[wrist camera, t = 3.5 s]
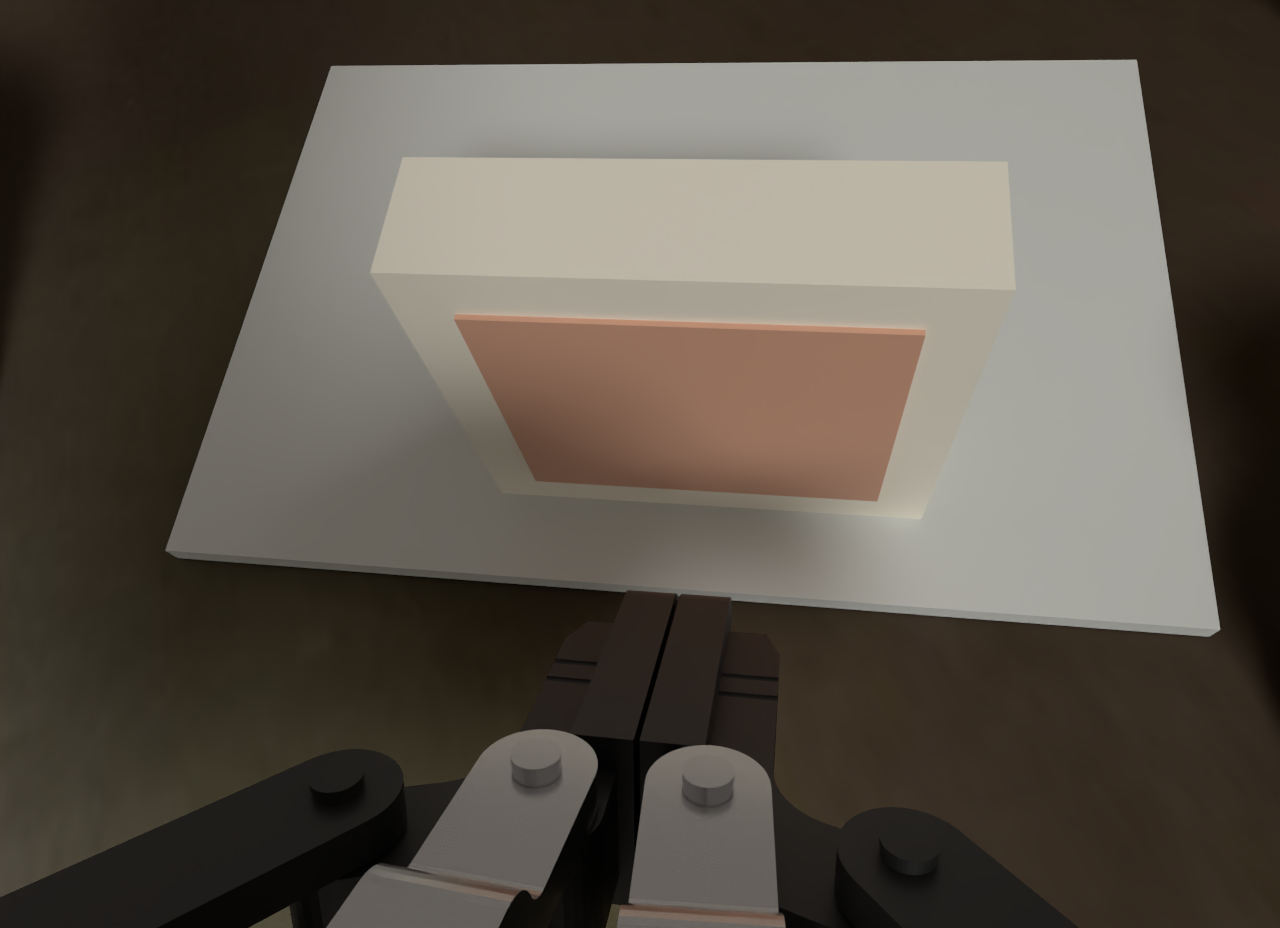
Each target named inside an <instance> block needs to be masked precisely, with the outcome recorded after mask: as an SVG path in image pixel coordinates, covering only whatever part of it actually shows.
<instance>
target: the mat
mask: <svg viewBox="0 0 1280 928" xmlns="http://www.w3.org/2000/svg"><path fill="white" fill-rule="evenodd" d="M403 157H458V158H592V159H725V160H859V161H993V162H1008V174H1009V190H1010V205H1011V221H1012V237H1013V252H1014V268H1015V284H1016V291H1015V293H1014V296H1013V298H1012V301H1011V303H1010V305H1009V308H1008V310H1007V313H1006V315H1005V318H1004V320H1003V322H1002V325H1001V327H1000V330H999V332H998V335H997V337H996V339H995V342H994V344H993V347H992V349H991V351H990V354H989V356H988V359H987V361H986V364H985V366H984V368H983V371H982V373H981V376H980V378H979V380H978V383H977V385H976V388H975V390H974V393H973V395H972V397H971V400H970V402H969V405H968V407H967V410H966V412H965V414H964V417H963V419H962V422H961V424H960V426H959V429H958V431H957V434H956V436H955V439H954V441H953V443H952V446H951V448H950V451H949V453H948V456H947V458H946V460H945V463H944V465H943V468H942V470H941V472H940V475H939V477H938V480H937V482H936V485H935V487H934V489H933V492H932V494H931V497H930V499H929V501H928V504H927V506H926V509H925V511H924V514H923V516H922V518H921V519H914V518H897V517H881V516H865V515H849V514H833V513H816V512H800V511H784V510H768V509H752V508H735V507H719V506H703V505H687V504H671V503H654V502H638V501H622V500H606V499H590V498H573V497H557V496H541V495H525V494H509V493H502V492H501V490H500V489H499V487H498V485H497V484H496V482H495V480H494V479H493V477H492V475H491V474H490V472H489V470H488V469H487V467H486V465H485V464H484V462H483V460H482V459H481V457H480V455H479V454H478V452H477V450H476V449H475V447H474V445H473V444H472V442H471V440H470V439H469V437H468V435H467V434H466V432H465V430H464V429H463V427H462V425H461V424H460V422H459V420H458V419H457V417H456V415H455V414H454V412H453V410H452V409H451V407H450V405H449V404H448V402H447V400H446V399H445V397H444V395H443V394H442V392H441V390H440V389H439V387H438V385H437V384H436V382H435V380H434V379H433V377H432V375H431V374H430V372H429V370H428V369H427V367H426V365H425V364H424V362H423V360H422V359H421V357H420V355H419V354H418V352H417V350H416V349H415V347H414V345H413V344H412V342H411V340H410V339H409V337H408V335H407V334H406V332H405V330H404V329H403V327H402V325H401V324H400V322H399V320H398V319H397V317H396V315H395V314H394V312H393V310H392V309H391V307H390V305H389V304H388V302H387V300H386V299H385V297H384V295H383V294H382V292H381V290H380V289H379V287H378V285H377V284H376V282H375V280H374V279H373V277H372V275H371V274H370V271H371V267H372V264H373V260H374V257H375V253H376V249H377V246H378V242H379V239H380V235H381V232H382V228H383V225H384V221H385V218H386V214H387V211H388V207H389V204H390V200H391V197H392V193H393V190H394V186H395V183H396V179H397V176H398V172H399V168H400V165H401V161H402V158H403ZM165 551H167V552H169V553H170V554H172V555H173V556H175V557H177V558H183V559H197V560H210V561H223V562H236V563H249V564H262V565H275V566H288V567H301V568H315V569H328V570H341V571H354V572H367V573H380V574H393V575H406V576H419V577H433V578H446V579H459V580H472V581H485V582H498V583H511V584H524V585H538V586H551V587H564V588H577V589H590V590H603V591H616V592H626V591H627V590H635V591H648V592H662V593H676V594H678V596H680V595H681V594H692V595H706V596H719V597H731V600H734V601H747V602H760V603H774V604H787V605H800V606H813V607H826V608H839V609H852V610H865V611H878V612H892V613H905V614H918V615H931V616H944V617H957V618H970V619H983V620H996V621H1010V622H1023V623H1036V624H1049V625H1062V626H1075V627H1088V628H1101V629H1114V630H1128V631H1141V632H1154V633H1167V634H1180V635H1193V636H1206V637H1209V636H1211V635H1213V634H1214V633H1216V632H1217V631H1219V630H1220V625H1219V618H1218V611H1217V604H1216V597H1215V590H1214V584H1213V577H1212V570H1211V563H1210V556H1209V550H1208V543H1207V536H1206V529H1205V522H1204V515H1203V509H1202V502H1201V495H1200V488H1199V481H1198V475H1197V468H1196V461H1195V454H1194V447H1193V440H1192V434H1191V427H1190V420H1189V413H1188V406H1187V400H1186V393H1185V386H1184V379H1183V372H1182V365H1181V359H1180V352H1179V345H1178V338H1177V331H1176V325H1175V318H1174V311H1173V304H1172V297H1171V290H1170V284H1169V277H1168V270H1167V263H1166V256H1165V250H1164V243H1163V236H1162V229H1161V222H1160V215H1159V209H1158V202H1157V195H1156V188H1155V181H1154V175H1153V168H1152V161H1151V154H1150V147H1149V140H1148V134H1147V127H1146V120H1145V113H1144V106H1143V99H1142V93H1141V86H1140V79H1139V72H1138V65H1137V60H1058V61H927V62H795V63H663V64H531V65H399V66H331V69H330V71H329V74H328V77H327V80H326V83H325V86H324V89H323V92H322V95H321V98H320V101H319V104H318V106H317V109H316V112H315V115H314V118H313V121H312V124H311V127H310V130H309V133H308V136H307V139H306V141H305V144H304V147H303V150H302V153H301V156H300V159H299V162H298V165H297V168H296V171H295V174H294V176H293V179H292V182H291V185H290V188H289V191H288V194H287V197H286V200H285V203H284V206H283V209H282V211H281V214H280V217H279V220H278V223H277V226H276V229H275V232H274V235H273V238H272V241H271V244H270V246H269V249H268V252H267V255H266V258H265V261H264V264H263V267H262V270H261V273H260V276H259V279H258V281H257V284H256V287H255V290H254V293H253V296H252V299H251V302H250V305H249V308H248V311H247V314H246V316H245V319H244V322H243V325H242V328H241V331H240V334H239V337H238V340H237V343H236V346H235V349H234V351H233V354H232V357H231V360H230V363H229V366H228V369H227V372H226V375H225V378H224V381H223V384H222V386H221V389H220V392H219V395H218V398H217V401H216V404H215V407H214V410H213V413H212V416H211V419H210V421H209V424H208V427H207V430H206V433H205V436H204V439H203V442H202V445H201V448H200V451H199V454H198V456H197V459H196V462H195V465H194V468H193V471H192V474H191V477H190V480H189V483H188V486H187V489H186V491H185V494H184V497H183V500H182V503H181V506H180V509H179V512H178V515H177V518H176V521H175V524H174V526H173V529H172V532H171V535H170V538H169V541H168V544H167V547H166V550H165Z"/></svg>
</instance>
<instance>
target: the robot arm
mask: <svg viewBox="0 0 1280 928" xmlns="http://www.w3.org/2000/svg"><path fill="white" fill-rule="evenodd" d="M731 619H732V600H731V597H719V596H706V595H692V594H681V595H680V597H679V599H678V594H676V593H662V592H648V591H635V590H627V591H626V593H625V595H624V598H623V600H622V603H621V606H620V608H619V611H618V613H617V616H616V618H615V621H614V623H611V622H598V621H587V622H586V623H585V624H583V625H582V626H581V627H579V628H578V629H577V630H575V631H574V632H573V633H571V634H570V635H569V636H567V637H566V638H565V640H564V642H563V644H562V646H561V648H560V650H559V652H558V654H557V657H556V659H555V663H553V665H552V667H551V669H550V671H549V673H548V675H547V680H545V682H544V684H543V686H542V688H541V690H540V692H539V694H538V696H537V698H536V700H535V702H534V704H533V707H532V709H531V711H530V713H529V715H528V717H527V719H526V721H525V723H524V725H523V727H522V730H521V732H518V733H515V734H512V735H509V736H506V737H504V738H502V739H500V740H498V741H497V742H495V743H493V744H492V745H491V746H489V747H488V748H487V749H486V750H485V751H484V752H483V753H482V755H481V756H480V757H479V759H478V760H477V762H476V763H475V765H474V766H473V768H472V769H471V771H470V772H469V774H468V776H467V777H466V778H463V779H460V780H455V781H449V782H443V783H434V784H426V785H418V786H409V787H404V782H403V773H402V771H401V768H400V766H399V765H398V764H397V763H396V761H394V760H393V759H392V758H390V757H389V756H387V755H384V754H382V753H379V752H376V751H371V750H363V749H351V750H341V751H336V752H331V753H327V754H324V755H321V756H318V757H315V758H313V759H310V760H308V761H306V762H304V763H301V764H299V765H297V766H295V767H292V768H290V769H288V770H286V771H283V772H281V773H279V774H277V775H274V776H272V777H270V778H268V779H265V780H263V781H261V782H259V783H256V784H254V785H252V786H250V787H247V788H245V789H243V790H241V791H238V792H236V793H234V794H232V795H229V796H227V797H225V798H223V799H220V800H218V801H216V802H214V803H211V804H209V805H207V806H205V807H202V808H200V809H198V810H196V811H193V812H191V813H189V814H187V815H184V816H182V817H180V818H178V819H176V820H173V821H171V822H169V823H167V824H164V825H162V826H160V827H158V828H155V829H153V830H151V831H149V832H146V833H144V834H142V835H140V836H137V837H135V838H133V839H131V840H128V841H126V842H124V843H122V844H119V845H117V846H115V847H113V848H110V849H108V850H106V851H104V852H101V853H99V854H97V855H95V856H92V857H90V858H88V859H86V860H83V861H81V862H79V863H77V864H74V865H72V866H70V867H68V868H65V869H63V870H61V871H59V872H56V873H54V874H52V875H50V876H47V877H45V878H43V879H41V880H38V881H36V882H34V883H32V884H29V885H27V886H25V887H23V888H20V889H18V890H16V891H14V892H12V893H9V894H7V895H5V896H3V897H0V928H249V927H250V926H252V925H254V924H256V923H258V922H260V921H261V920H263V919H265V918H267V917H269V916H271V915H273V914H274V913H276V912H278V911H280V910H282V909H284V908H286V907H287V906H290V912H291V918H292V924H293V928H605V927H606V924H607V920H608V916H609V912H610V908H611V904H617V905H621V908H620V912H619V918H618V924H617V928H1078V927H1077V926H1076V925H1075V924H1073V923H1072V922H1071V921H1070V920H1069V919H1067V918H1066V917H1065V916H1064V915H1062V914H1061V913H1060V912H1059V911H1057V910H1056V909H1055V908H1054V907H1053V906H1051V905H1050V904H1049V903H1048V902H1046V901H1045V900H1044V899H1043V898H1041V897H1040V896H1039V895H1038V894H1036V893H1035V892H1034V891H1033V890H1032V889H1030V888H1029V887H1028V886H1027V885H1025V884H1024V883H1023V882H1022V881H1020V880H1019V879H1018V878H1017V877H1016V876H1014V875H1013V874H1012V873H1011V872H1009V871H1008V870H1007V869H1006V868H1004V867H1003V866H1002V865H1001V864H1000V863H998V862H997V861H996V860H995V859H993V858H992V857H991V856H990V855H988V854H987V853H986V852H985V851H984V850H982V849H981V848H980V847H979V846H977V845H976V844H975V843H974V842H972V841H971V840H970V839H969V838H967V837H966V836H965V835H964V834H963V833H961V832H960V831H959V830H957V829H956V828H955V827H953V826H952V825H950V824H949V823H947V822H945V821H943V820H941V819H940V818H937V817H935V816H932V815H930V814H927V813H924V812H921V811H917V810H912V809H907V808H896V807H888V808H877V809H872V810H868V811H865V812H862V813H860V814H858V815H856V816H855V817H853V818H852V819H850V820H849V821H848V822H847V823H846V824H845V825H844V827H843V828H842V829H839V828H837V827H834V826H831V825H828V824H825V823H823V822H820V821H818V820H815V819H813V818H811V817H809V816H808V815H806V814H804V813H802V812H801V811H799V810H798V809H797V808H795V807H794V806H793V805H792V804H790V803H789V802H788V801H787V800H786V799H785V798H784V796H783V795H782V794H781V792H780V791H779V789H778V787H777V785H776V783H775V780H774V759H775V741H776V721H777V701H778V681H779V660H780V655H779V653H778V652H777V650H776V649H775V647H774V646H773V644H772V643H771V641H770V640H769V639H768V637H767V636H766V634H753V633H740V632H731Z"/></svg>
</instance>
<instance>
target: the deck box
mask: <svg viewBox="0 0 1280 928" xmlns="http://www.w3.org/2000/svg"><path fill="white" fill-rule="evenodd" d="M370 274H371V275H372V277H373V279H374V280H375V282H376V284H377V285H378V287H379V289H380V290H381V292H382V294H383V295H384V297H385V299H386V300H387V302H388V304H389V305H390V307H391V309H392V310H393V312H394V314H395V315H396V317H397V319H398V320H399V322H400V324H401V325H402V327H403V329H404V330H405V332H406V334H407V335H408V337H409V339H410V340H411V342H412V344H413V345H414V347H415V349H416V350H417V352H418V354H419V355H420V357H421V359H422V360H423V362H424V364H425V365H426V367H427V369H428V370H429V372H430V374H431V375H432V377H433V379H434V380H435V382H436V384H437V385H438V387H439V389H440V390H441V392H442V394H443V395H444V397H445V399H446V400H447V402H448V404H449V405H450V407H451V409H452V410H453V412H454V414H455V415H456V417H457V419H458V420H459V422H460V424H461V425H462V427H463V429H464V430H465V432H466V434H467V435H468V437H469V439H470V440H471V442H472V444H473V445H474V447H475V449H476V450H477V452H478V454H479V455H480V457H481V459H482V460H483V462H484V464H485V465H486V467H487V469H488V470H489V472H490V474H491V475H492V477H493V479H494V480H495V482H496V484H497V485H498V487H499V489H500V490H501V492H502V493H509V494H525V495H541V496H557V497H573V498H590V499H606V500H622V501H638V502H654V503H671V504H687V505H703V506H719V507H735V508H752V509H768V510H784V511H800V512H816V513H833V514H849V515H865V516H881V517H897V518H914V519H921V518H922V516H923V514H924V511H925V509H926V506H927V504H928V501H929V499H930V497H931V494H932V492H933V489H934V487H935V485H936V482H937V480H938V477H939V475H940V472H941V470H942V468H943V465H944V463H945V460H946V458H947V456H948V453H949V451H950V448H951V446H952V443H953V441H954V439H955V436H956V434H957V431H958V429H959V426H960V424H961V422H962V419H963V417H964V414H965V412H966V410H967V407H968V405H969V402H970V400H971V397H972V395H973V393H974V390H975V388H976V385H977V383H978V380H979V378H980V376H981V373H982V371H983V368H984V366H985V364H986V361H987V359H988V356H989V354H990V351H991V349H992V347H993V344H994V342H995V339H996V337H997V335H998V332H999V330H1000V327H1001V325H1002V322H1003V320H1004V318H1005V315H1006V313H1007V310H1008V308H1009V305H1010V303H1011V301H1012V298H1013V296H1014V293H1015V291H1016V284H1015V268H1014V252H1013V237H1012V221H1011V205H1010V190H1009V174H1008V162H993V161H859V160H725V159H592V158H458V157H403V158H402V161H401V165H400V168H399V172H398V176H397V179H396V183H395V186H394V190H393V193H392V197H391V200H390V204H389V207H388V211H387V214H386V218H385V221H384V225H383V228H382V232H381V235H380V239H379V242H378V246H377V249H376V253H375V257H374V260H373V264H372V267H371V271H370Z"/></svg>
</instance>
